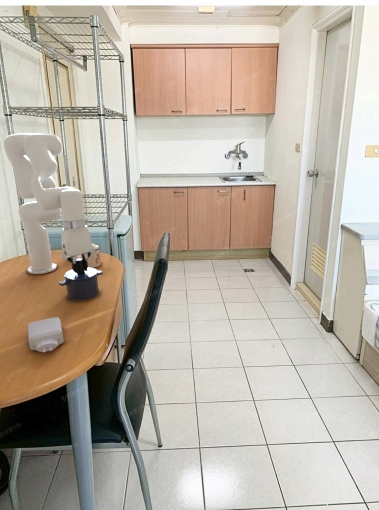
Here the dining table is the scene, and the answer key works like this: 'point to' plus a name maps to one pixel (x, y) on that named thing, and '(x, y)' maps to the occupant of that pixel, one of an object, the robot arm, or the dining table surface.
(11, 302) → the dining table surface
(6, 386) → the dining table surface
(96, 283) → the pot
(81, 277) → the pot lid
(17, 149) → the robot arm
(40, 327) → the charger
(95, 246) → the teacup with lid
